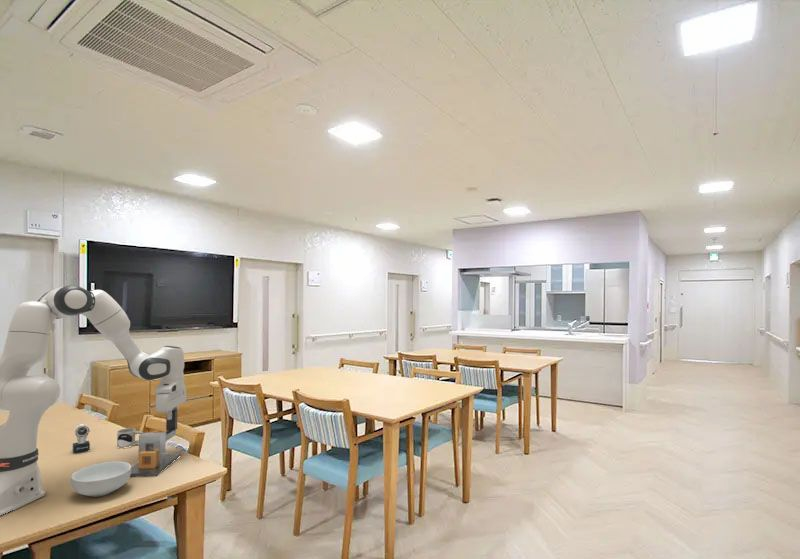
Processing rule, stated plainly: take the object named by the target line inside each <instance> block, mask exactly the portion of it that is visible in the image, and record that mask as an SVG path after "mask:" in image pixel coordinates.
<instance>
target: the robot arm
mask: <svg viewBox="0 0 800 559" xmlns="http://www.w3.org/2000/svg"><path fill="white" fill-rule="evenodd" d="M79 315H83V316H84V317H85V318H87V319H88V320H89V322H90V323H91V324H92V325H93V327H94V328H95V329H96V330H97V331H98V332H99V333H100V334H101V336H104V337H105V338H107V339H108V340H109V341H110V342H111V343H112V344H114V345H115V347H116V348H117V350H118V351H119V352H120V353H121V354H122V355H123V357H124V358H125V360H126V362H127V366H128V367H127V368H128V371H129V372H130V373H129V374H131V375H132V376H133V377H136V378H139V379H143V380H145V381H153V380H157V379H160V381H159V383H158V384H157V386H155V388H154V393H155V394H156V395H155V411H156V412H157V413H158V414H159V413H161V414H165V415H166V414H167V419H168V420H171V419H173V414H172V410H179V406H180V405H182V404H184V403H185V402H186V401H187V386H186V385H185V374H184V370H185V354H184V350H183V348H182V347H179V346H174V345H164V346H163V347H162V348H160V349H158V350H156V351H155V352H153V353H152V354H149V353H147V352H145V351H143V350H142V349H141V347H139V345H138V344H137V343H136V341H135V340H134V339H133V337H132V335H131V334H130V328H131V320H130V319H129V316H128V315H127V313H126V311H125V310H124V309H123V307H122V306H121V305H120V304H119V303H118V302H117V301H116V300H115V299H114V298H113V297H112V296H111V295H110V294H108V292H106V291H104V290H102V289H93V290H87V289H85V288H84V287H81V286H78V285H71V284H70V285H65V286H60V287H56V288H53V289H51V290H49V291H47V292H45V293H44V294H43V295H42V296H41V297H40V298H39V299H38V300H29V301H24V302H22V303H20V304H19V305H18V306H17V307H16V309H15V310H14V313H13V316H12V319H11V321H10V323H9V328H8V330H7V335H6V339H5V343H4V347H3V351H2V353H1V356H0V411H9V415H8V418H7V420H6V422H5V423H2V424H1V425H0V515H2V516H4V515H6V514H8V512H9V513H11V512H12V510H13V511H15V510H17V509H19V508H22V507H23V506H25V505H27V504H30V503H32V502H33V501H36V500H39V499H40V498H43V497H45V496H46V495H45V491H44V490H43V488H42V486H43V485H42V476H41V470H40V468H39V465H38V461H39V454H40V453H39V448H37V447H38V446H37V445H38V444H37V443H38V431H39V426H40V421H41V419H42V417H43V416H44V414H45V412H46V411H47V410H48V409H50V408H51V407H52V406H54V404H55V403H56V402H57V401H58V399H59V397H60V395H61V386H60V384H59V382H58V381H57V380H56V379H55V378H51V377H47V376H42V375H28V373H29V371H30V370H31V368H33V366H35V365H36V364H38V363H40V362H41V361H43V360H44V359H45V356H46V355H47V354H46V353H47V350H48V349H47V348H48V345H49V340H50V335H51V329H52V328H51V327H52V325H53V323H54V321H55V320H59V319H67V318H72V317H74V316H79ZM10 511H11V512H10ZM5 513H6V514H5ZM3 514H4V515H3Z"/></svg>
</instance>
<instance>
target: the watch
mask: <svg viewBox="0 0 800 559" xmlns="http://www.w3.org/2000/svg"><path fill="white" fill-rule="evenodd" d="M90 432H91V429H90V428H89V426H88V425H87V424H86V423H80V424H77V426H76V428H75V431H74V433H75V436H76V440H77V442H74V443H72V453H73V454H79V453H84V451H85V452H89V451H88V450H90V449H91V447H90V446H91V442H90V441H89V440H87V438H88V436H89V434H90Z"/></svg>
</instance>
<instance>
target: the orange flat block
mask: <svg viewBox="0 0 800 559" xmlns="http://www.w3.org/2000/svg"><path fill="white" fill-rule="evenodd" d="M145 456H151V463H145ZM138 458H139V468H155V467H156V466H157V451H141V452H140V453H139V452H138Z"/></svg>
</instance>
